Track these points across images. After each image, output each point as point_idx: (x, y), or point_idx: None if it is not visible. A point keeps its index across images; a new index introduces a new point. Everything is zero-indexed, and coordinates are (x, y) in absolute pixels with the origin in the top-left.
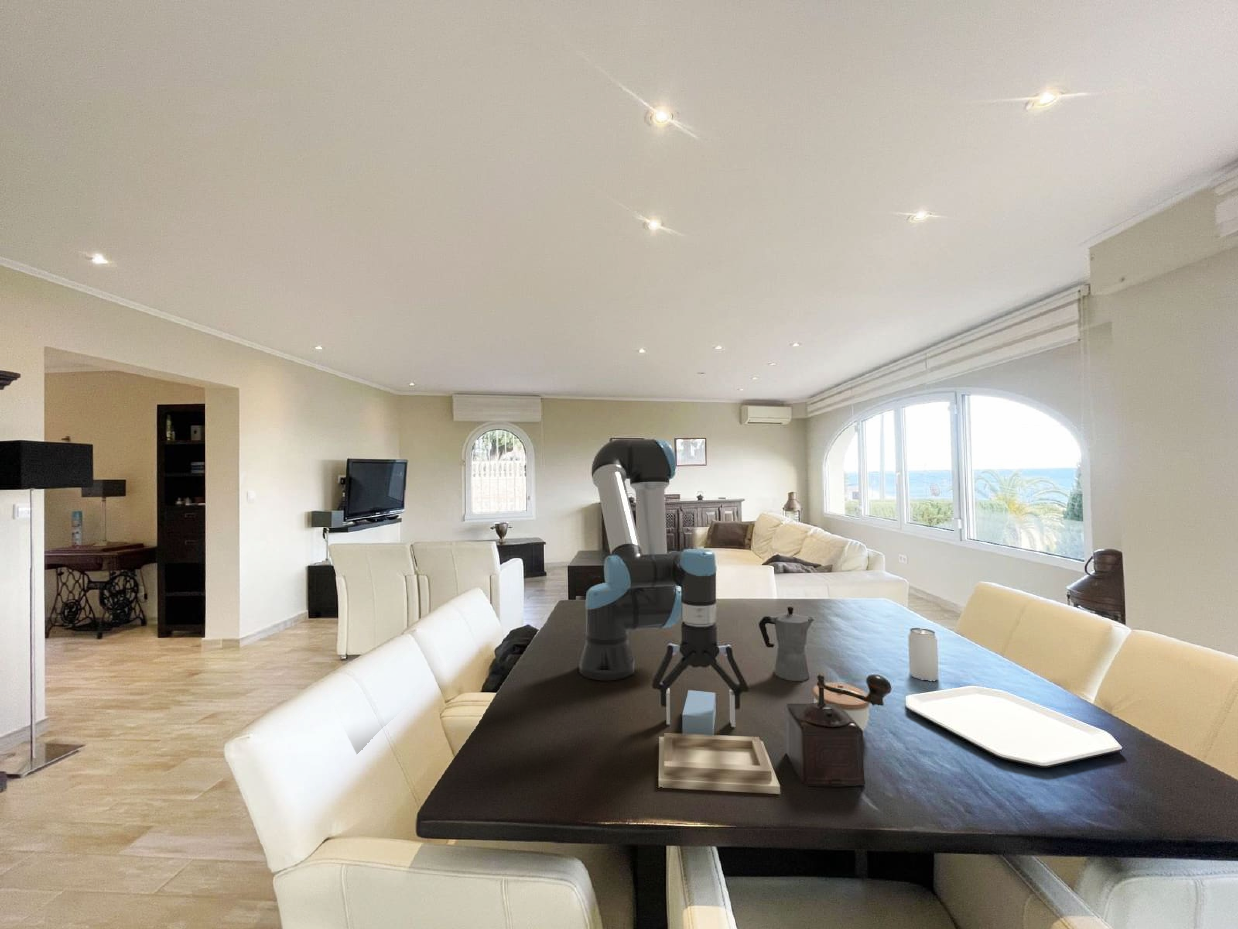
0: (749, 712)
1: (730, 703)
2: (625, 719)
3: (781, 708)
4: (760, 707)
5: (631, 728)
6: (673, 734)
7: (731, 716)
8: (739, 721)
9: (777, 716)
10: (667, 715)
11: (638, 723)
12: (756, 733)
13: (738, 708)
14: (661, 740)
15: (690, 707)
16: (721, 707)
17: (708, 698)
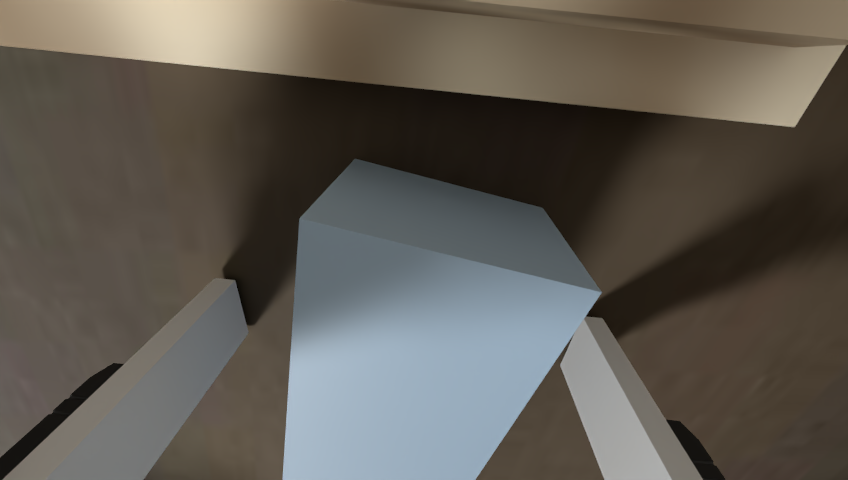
0: None
1: (154, 412)
2: (802, 372)
3: (40, 404)
4: None
5: (829, 296)
6: (791, 4)
7: (195, 322)
8: None
9: (36, 356)
10: (620, 359)
11: (752, 338)
12: (94, 222)
13: (111, 368)
14: (821, 53)
15: (479, 390)
16: None
17: (324, 468)
